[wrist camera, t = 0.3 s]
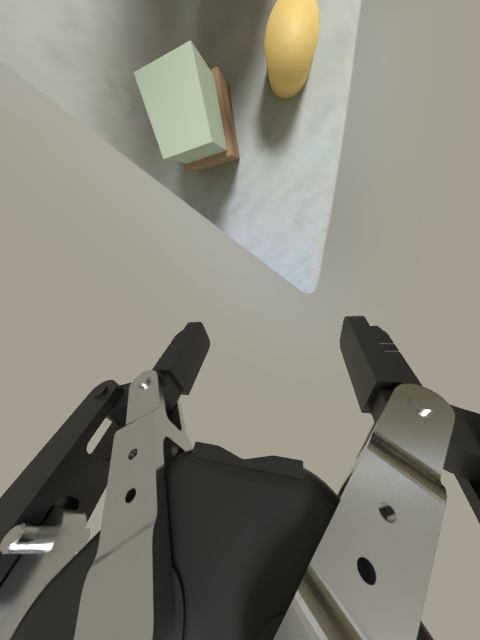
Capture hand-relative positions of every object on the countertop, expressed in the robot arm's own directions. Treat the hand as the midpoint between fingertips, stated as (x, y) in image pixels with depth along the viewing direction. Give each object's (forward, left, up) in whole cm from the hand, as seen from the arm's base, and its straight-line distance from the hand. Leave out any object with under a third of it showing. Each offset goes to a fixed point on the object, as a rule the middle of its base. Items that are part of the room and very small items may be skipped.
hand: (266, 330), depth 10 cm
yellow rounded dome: (-17, +3, -27) cm, 33 cm away
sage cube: (-14, -8, -23) cm, 28 cm away
